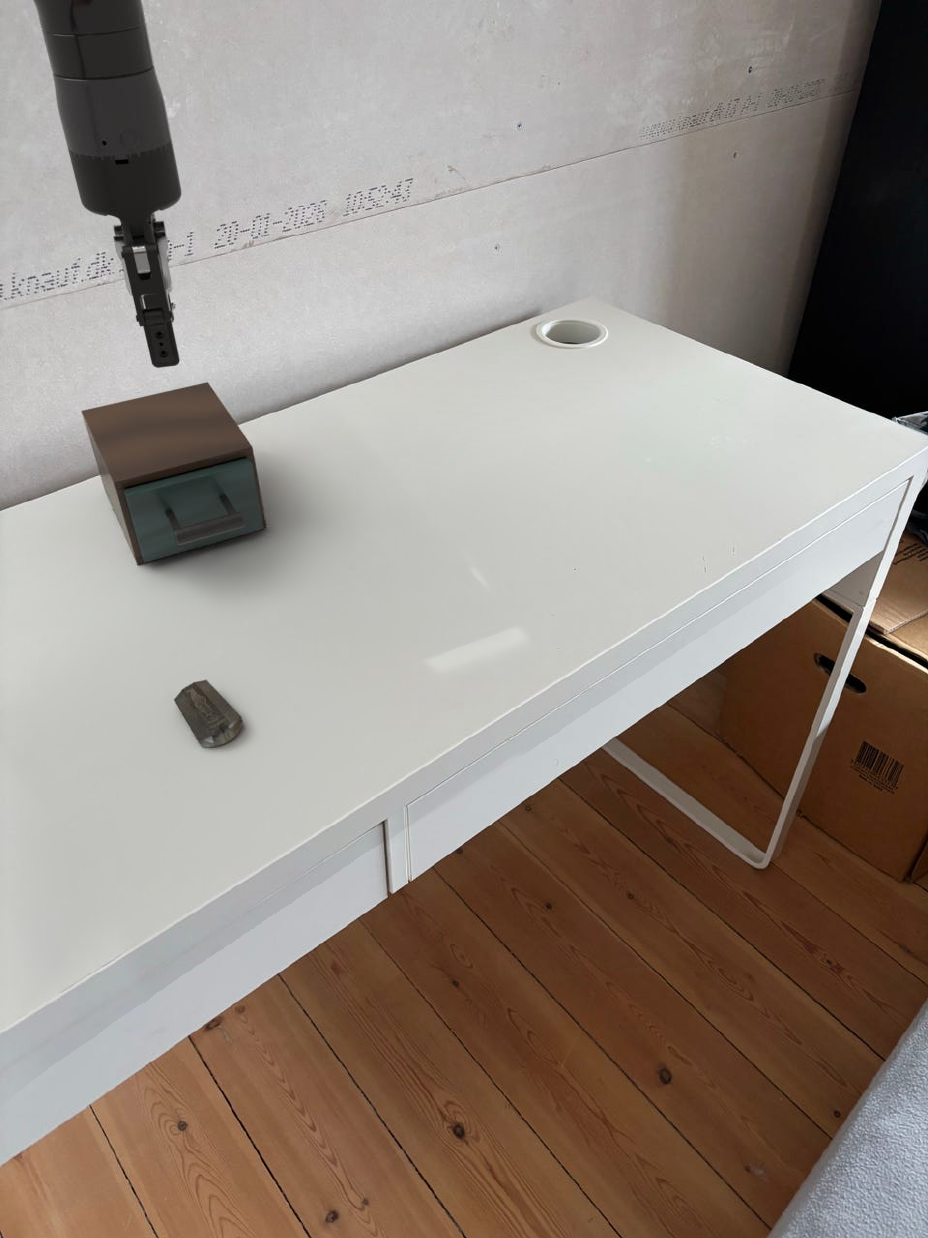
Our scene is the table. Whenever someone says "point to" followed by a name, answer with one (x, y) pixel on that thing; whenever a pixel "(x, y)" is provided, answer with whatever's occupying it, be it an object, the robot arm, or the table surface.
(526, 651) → the table surface
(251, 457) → the cabinet
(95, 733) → the table surface
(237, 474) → the drawer
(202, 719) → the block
